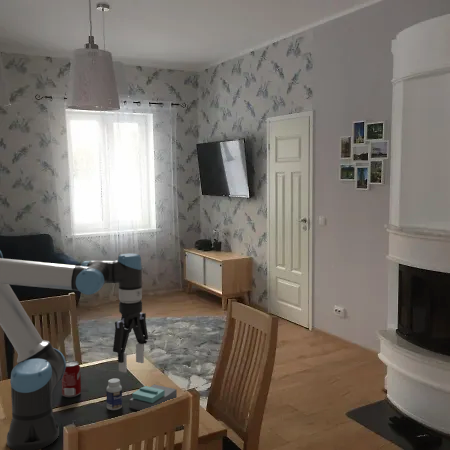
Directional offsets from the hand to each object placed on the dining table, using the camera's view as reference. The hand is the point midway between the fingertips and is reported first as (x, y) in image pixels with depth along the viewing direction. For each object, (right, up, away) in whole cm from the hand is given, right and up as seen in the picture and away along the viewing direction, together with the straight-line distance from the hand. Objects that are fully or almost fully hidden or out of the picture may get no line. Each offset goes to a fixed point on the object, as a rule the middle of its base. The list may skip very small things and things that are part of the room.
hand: (131, 366), depth 172 cm
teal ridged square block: (+4, -13, +10) cm, 17 cm away
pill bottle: (-8, -17, +9) cm, 20 cm away
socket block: (+6, -16, +13) cm, 21 cm away
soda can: (-26, -16, +19) cm, 36 cm away
